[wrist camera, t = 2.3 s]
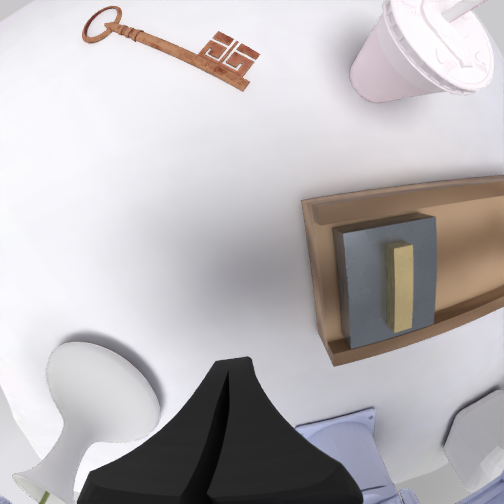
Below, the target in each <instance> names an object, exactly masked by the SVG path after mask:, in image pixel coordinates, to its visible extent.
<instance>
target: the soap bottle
mask: <svg viewBox="0 0 504 504" xmlns="http://www.w3.org/2000/svg"><path fill="white" fill-rule="evenodd" d="M444 452H445V455H446V457H447V458H448V460H449V462H450V463H451V465H452V467H453V468H454V470H455V472H456V473H457V475H458V477H459V478H460V480H461V482H462V483H463V485H464V487H465V489H467V490H468V491H470V492H473V493H474V492H476V491H477V490H479V489H480V488H482V487H484V486H485V485H487V484H488V483H490V482H491V481H492V480H494V479H495V478H497V477H498V476H500V475H501V473H502V471H503V470H504V390H496V391H493V392H491V393H490V394H488V395H487V396H485V397H483V398H482V399H480V400H478V401H477V402H475V403H473V404H471V405H470V406H468V407H466V408H464V409H462V410H461V411H460V412H459V413H458V414H457V415H456V417H455V419H454V422H453V425H452V428H451V430H450V433H449V436H448V438H447V441H446V443H445V446H444Z"/></svg>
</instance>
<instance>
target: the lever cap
mask: <svg viewBox="0 0 504 504" xmlns="http://www.w3.org/2000/svg"><path fill="white" fill-rule="evenodd" d="M332 231H333V239H334V248H335V257H336V266H337V277H338V288H339V300H340V314H341V330H342V335H343V336H344V338H345V340H346V341H347V343H348V345H349V347H350V348H351V349H353V348H357V347H361V346H365V345H368V344H372V343H375V342H379V341H382V340H386V339H389V338H393V337H396V336H399V335H402V334H405V333H409V332H412V331H415V330H418V329H421V328H424V327H427V326H429V325H432V324H434V314H435V301H436V282H437V229H436V217H435V216H431V215H427V214H423V213H419V212H418V213H412V214H406V215H400V216H395V217H389V218H383V219H377V220H371V221H366V222H360V223H354V224H349V225H343V226H337V227H332Z"/></svg>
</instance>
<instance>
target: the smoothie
mask: <svg viewBox="0 0 504 504" xmlns="http://www.w3.org/2000/svg"><path fill="white" fill-rule="evenodd" d="M486 1H488V0H462V1H461V0H384V1H383V5H382V9H383V13H382V14H381V16H380V17H379V20H378V21H377V23H376V25H375V27H374V28H373V30H372V32H371V33H370V35H369V37H368V39H367V40H366V42H365V44H364V46H363V47H362V49H361V51H360V52H359V54H358V56H357V58H356V59H355V61H354V63H353V65H352V66H351V69H350V79H351V83H352V85H353V87H354V88H355V90H356V91H357V92H358V93H359V94H360V95H361V96H362V97H363V98H365V99H366V100H368V101H371V102H375V103H383V102H387V101H392V100H397V99H402V98H408V97H413V96H419V95H424V94H431V93H437V92H445V91H447V92H450V93H452V94H458V95H468V94H471V93H475V92H476V91H478V90H481V89H483V88H485V87H486V86H488V84H489V83H490V82H491V80H492V77H493V74H494V55H493V51H492V47H491V44H490V41H489V39H488V37H487V34H486V32H485V31H484V29H483V27H482V25H481V24H480V22H479V21H478V19H477V18H476V17H475V15H474V14H473V13H472V12H471V10H472V9H474V8H475V7H477V6H479V5H481V4H482V3H484V2H486Z"/></svg>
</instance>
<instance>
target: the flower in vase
mask: <svg viewBox="0 0 504 504" xmlns="http://www.w3.org/2000/svg"><path fill="white" fill-rule="evenodd" d="M46 377H47V382H48V386H49V390H50V393H51V396H52V398H53V400H54V402H55V404H56V406H57V408H58V410H59V412H60V413H61V415H62V417H63V420H64V427H63V430H62V433H61V435H60V437H59V439H58V441H57V442H56V444H55V445H54V447H53V448H52V450H51V451H50V452H49V453H48V455H47V456H46V457H45V458H44V459H43V460H42V461H41V462H40V463H39V464H38V465H37V466H35V467H34V468H32V469H30V470H28V471H25V472H21V473H15V474H13V475H12V477H13V479H14V481H15V482H16V484H17V485H18V486H19V487H20V488H21V489H22V490H23V491H24V492H25V493H26V494H28V495H29V496H30V497H31V498H33V499H34V500H35V501H37V502H38V503H39V504H75V502H74V492H73V489H74V482H75V477H76V474H77V470H78V467H79V465H80V462H81V460H82V458H83V456H84V454H85V452H86V450H87V449H88V448H89V447H90V446H91V444H93V443H95V442H110V443H126V442H132V441H137V440H140V439H143V438H145V437H146V436H148V435H149V434H150V433H151V432H152V431H153V430H154V429H155V428H156V427H157V425H158V423H159V420H160V412H161V411H160V405H159V402H158V399H157V397H156V395H155V393H154V391H153V389H152V387H151V386H150V384H149V382H148V381H147V380H146V378H145V377H144V376H143V375H142V374H141V373H140V372H139V371H138V369H136V368H135V367H134V366H133V365H132V364H131V363H129V362H128V361H127V360H126V359H124V358H123V357H121V356H120V355H118V354H117V353H115V352H113V351H111V350H109V349H107V348H104V347H102V346H99V345H96V344H92V343H86V342H68V343H64V344H61V345H59V346H58V347H56V348H55V349H54V350H53V352H52V353H51V355H50V357H49V360H48V364H47V368H46Z"/></svg>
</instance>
